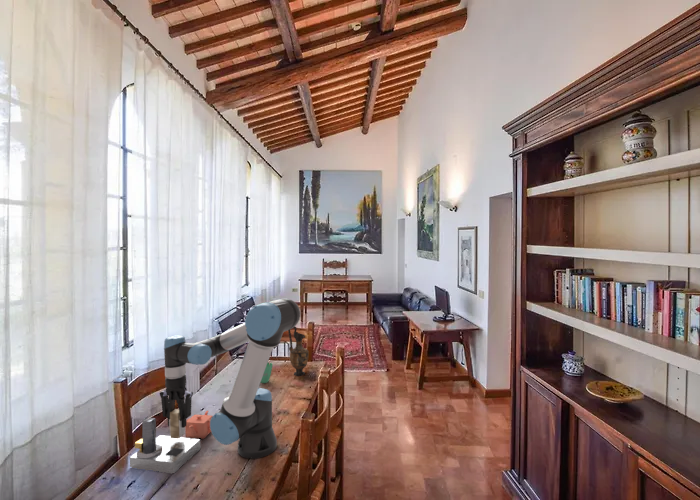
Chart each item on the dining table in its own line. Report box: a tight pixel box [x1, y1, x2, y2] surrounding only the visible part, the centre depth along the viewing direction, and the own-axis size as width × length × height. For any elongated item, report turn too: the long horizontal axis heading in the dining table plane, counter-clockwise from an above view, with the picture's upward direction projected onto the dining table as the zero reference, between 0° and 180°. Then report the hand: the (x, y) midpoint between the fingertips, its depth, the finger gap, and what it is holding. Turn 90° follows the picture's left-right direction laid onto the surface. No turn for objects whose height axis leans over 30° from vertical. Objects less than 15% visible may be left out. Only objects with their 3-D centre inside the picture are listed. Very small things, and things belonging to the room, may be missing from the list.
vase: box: [287, 326, 310, 377], centre depth 233 cm, size 12×12×30 cm
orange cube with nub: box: [184, 410, 213, 440], centre depth 159 cm, size 12×15×8 cm
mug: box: [260, 361, 274, 384], centre depth 220 cm, size 15×10×10 cm
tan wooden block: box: [169, 408, 180, 439], centre depth 148 cm, size 4×4×10 cm
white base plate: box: [129, 434, 201, 474], centre depth 142 cm, size 18×16×4 cm
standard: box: [134, 417, 162, 459], centre depth 139 cm, size 9×8×12 cm
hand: (177, 434), depth 148 cm, fingers closed on tan wooden block, 3 cm apart
